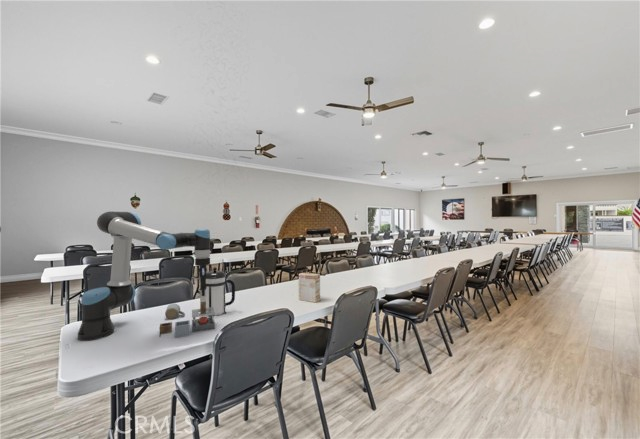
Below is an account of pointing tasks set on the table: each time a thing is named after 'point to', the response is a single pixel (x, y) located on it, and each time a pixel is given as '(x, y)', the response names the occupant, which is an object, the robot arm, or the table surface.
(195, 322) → the button base
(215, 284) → the coffee press
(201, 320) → the button
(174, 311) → the ceramic mug
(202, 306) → the dowel
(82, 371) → the table surface
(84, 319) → the robot arm
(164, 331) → the dowel holder
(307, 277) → the coffeecake box
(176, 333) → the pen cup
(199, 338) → the table surface
